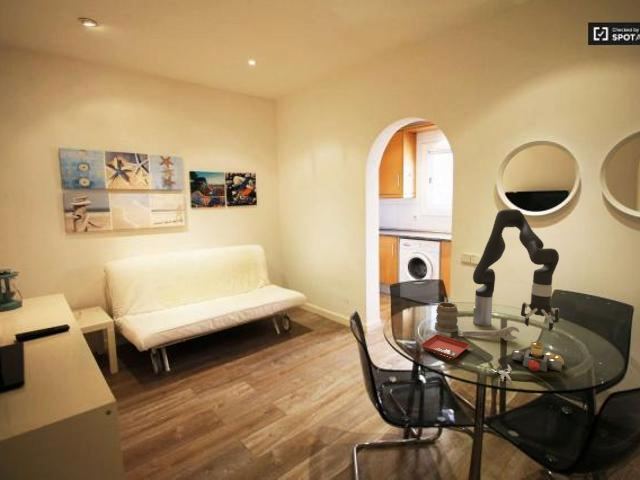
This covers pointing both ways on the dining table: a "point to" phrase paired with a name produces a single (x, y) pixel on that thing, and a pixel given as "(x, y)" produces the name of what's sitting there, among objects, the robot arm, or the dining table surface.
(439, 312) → the tankard
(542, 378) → the dining table surface
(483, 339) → the dining table surface
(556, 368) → the valve body
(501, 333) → the wrench
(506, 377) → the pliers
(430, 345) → the plant saucer
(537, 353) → the brass knob
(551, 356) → the brass elbow
